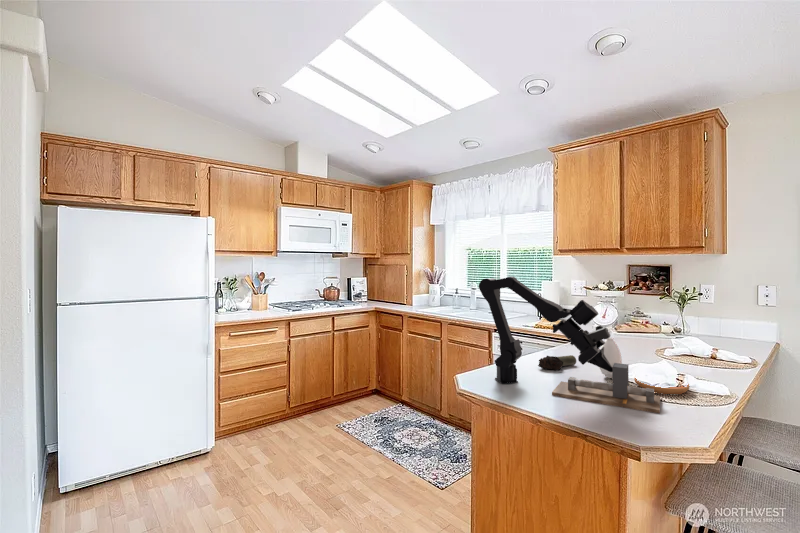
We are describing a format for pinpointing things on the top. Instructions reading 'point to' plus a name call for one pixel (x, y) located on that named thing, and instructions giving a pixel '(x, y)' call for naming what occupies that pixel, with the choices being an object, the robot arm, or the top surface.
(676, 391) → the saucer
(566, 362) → the dark elongated piece
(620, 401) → the pipe board
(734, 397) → the top surface
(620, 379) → the grey upright block
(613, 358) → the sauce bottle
